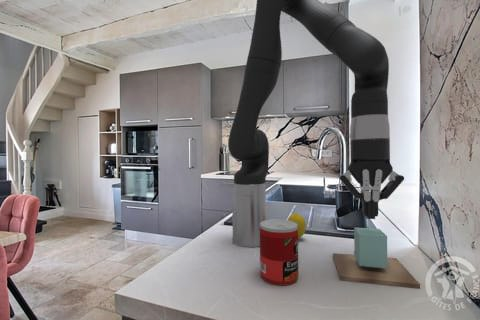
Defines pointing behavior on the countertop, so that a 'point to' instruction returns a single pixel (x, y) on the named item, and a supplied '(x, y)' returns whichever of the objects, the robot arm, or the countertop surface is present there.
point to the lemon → (298, 223)
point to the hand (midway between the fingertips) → (370, 218)
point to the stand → (374, 272)
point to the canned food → (279, 251)
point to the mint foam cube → (370, 247)
